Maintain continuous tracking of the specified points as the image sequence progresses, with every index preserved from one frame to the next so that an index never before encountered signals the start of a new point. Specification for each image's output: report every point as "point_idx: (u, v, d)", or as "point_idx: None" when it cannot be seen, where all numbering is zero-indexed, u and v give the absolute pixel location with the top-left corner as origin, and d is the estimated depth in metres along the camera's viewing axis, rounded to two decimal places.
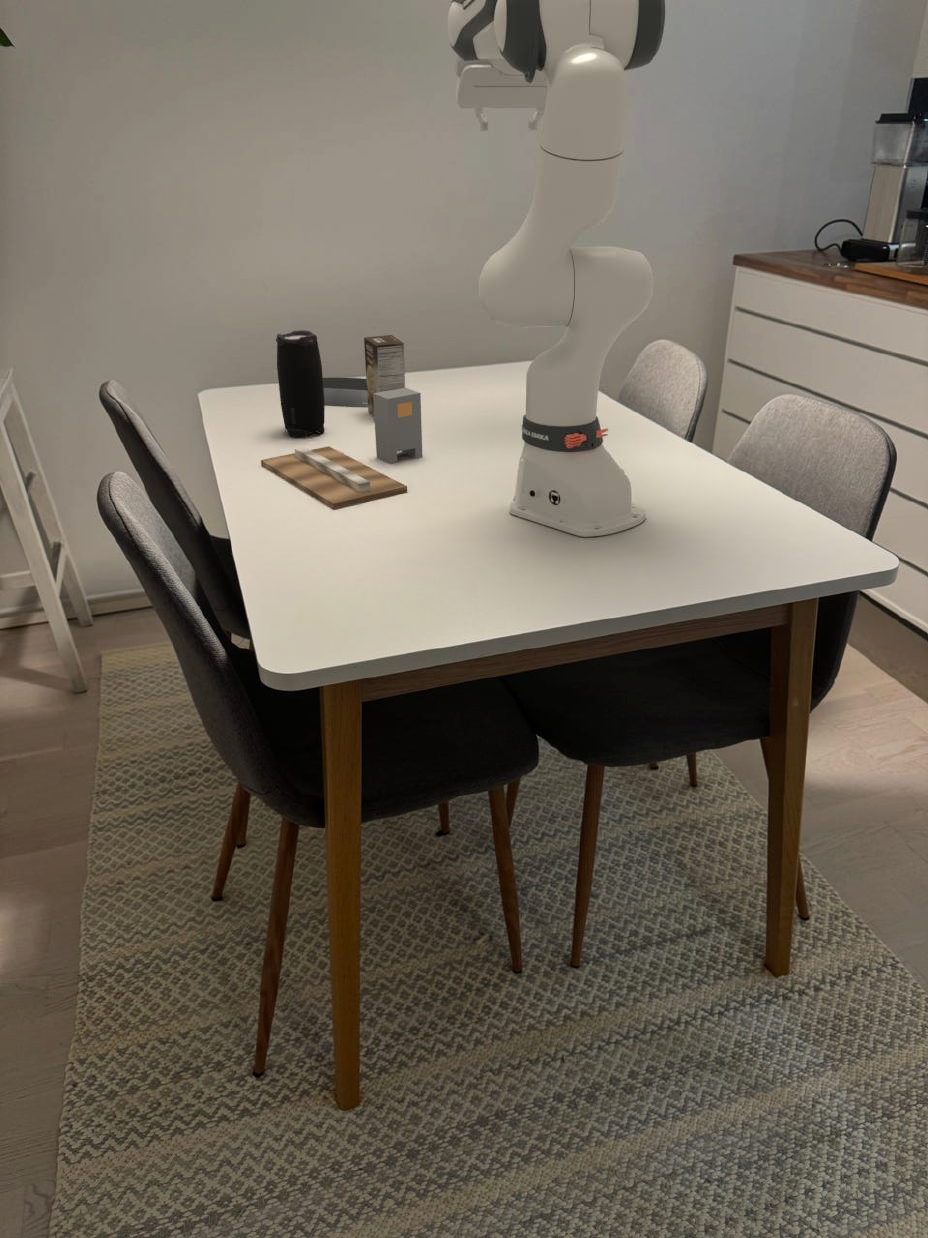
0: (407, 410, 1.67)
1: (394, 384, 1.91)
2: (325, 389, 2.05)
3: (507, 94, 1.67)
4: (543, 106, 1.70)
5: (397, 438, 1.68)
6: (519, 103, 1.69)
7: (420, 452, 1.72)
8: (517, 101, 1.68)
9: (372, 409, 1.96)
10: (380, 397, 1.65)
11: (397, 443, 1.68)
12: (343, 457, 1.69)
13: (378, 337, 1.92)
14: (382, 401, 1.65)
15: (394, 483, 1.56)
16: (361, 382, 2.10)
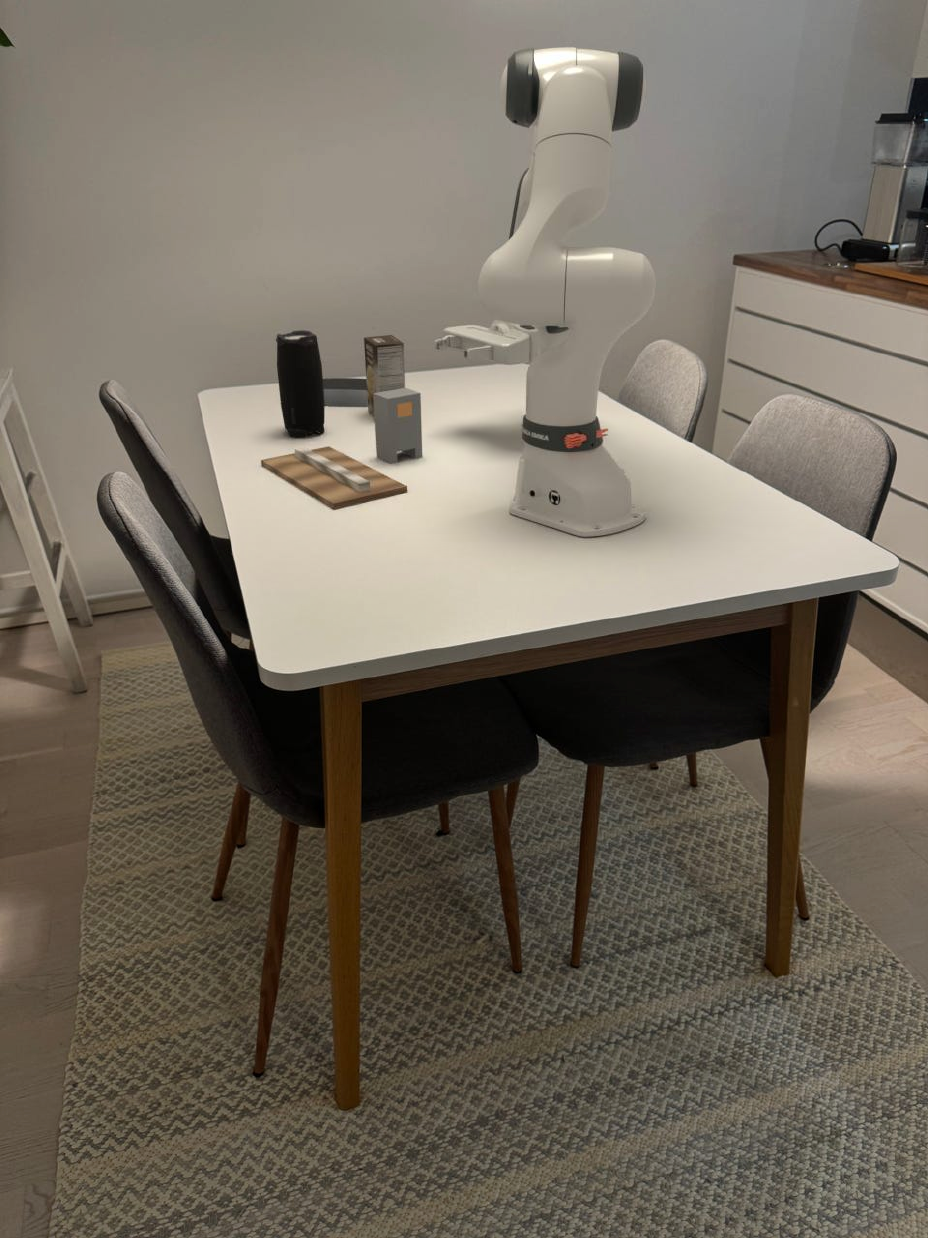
0: (407, 410, 1.67)
1: (394, 384, 1.91)
2: (328, 390, 2.04)
3: (479, 333, 1.74)
4: (492, 341, 1.68)
5: (397, 438, 1.68)
6: (480, 336, 1.71)
7: (420, 452, 1.72)
8: (480, 335, 1.72)
9: (372, 409, 1.96)
10: (380, 397, 1.65)
11: (397, 443, 1.68)
12: (343, 457, 1.69)
13: (378, 337, 1.92)
14: (382, 401, 1.65)
15: (394, 483, 1.56)
16: (361, 382, 2.10)
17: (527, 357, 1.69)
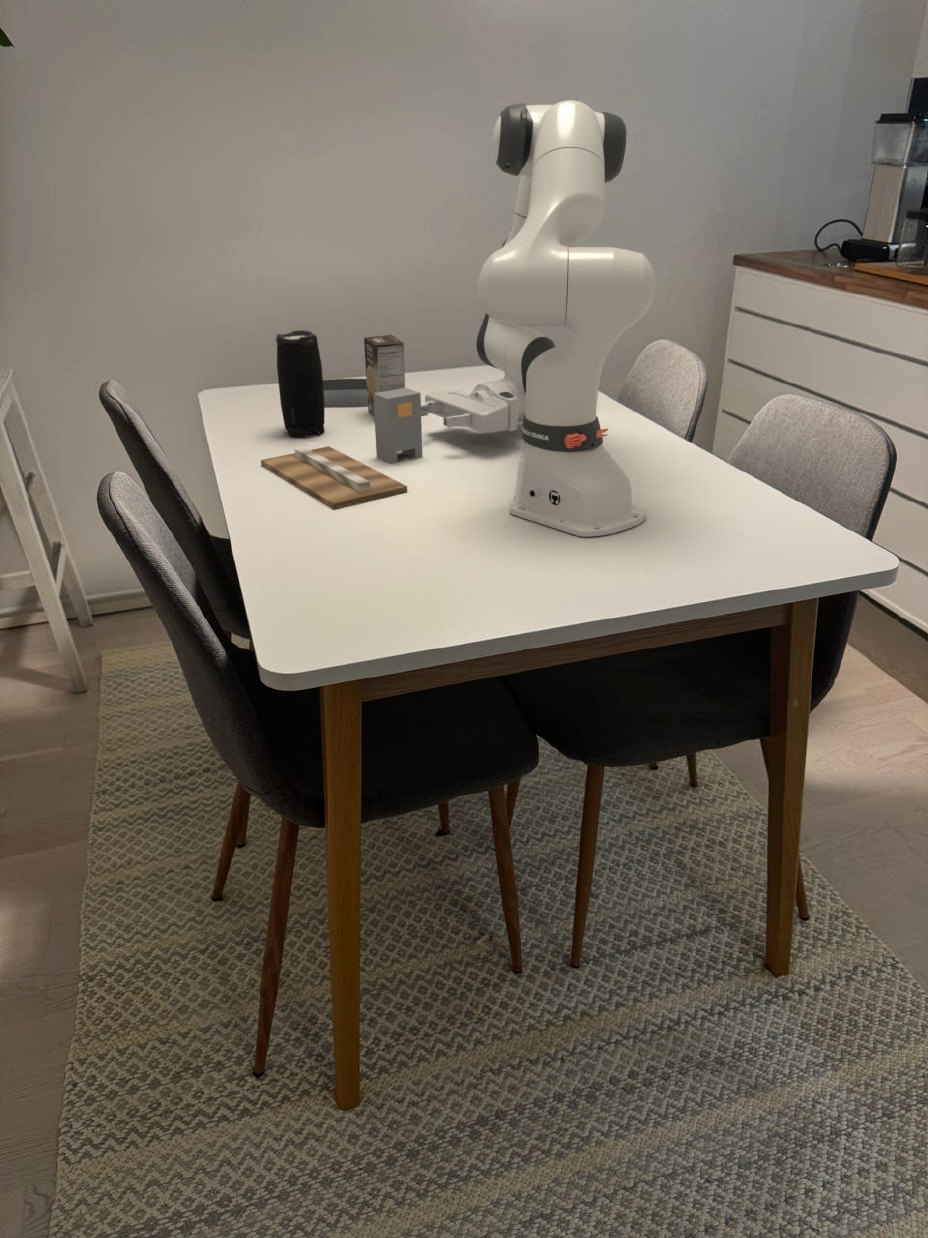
0: (407, 410, 1.67)
1: (394, 384, 1.91)
2: (332, 391, 2.03)
3: (460, 400, 1.77)
4: (471, 409, 1.70)
5: (397, 438, 1.68)
6: (460, 403, 1.74)
7: (420, 452, 1.72)
8: (460, 403, 1.75)
9: (372, 409, 1.96)
10: (380, 397, 1.65)
11: (397, 443, 1.68)
12: (343, 457, 1.69)
13: (378, 337, 1.92)
14: (382, 401, 1.65)
15: (394, 483, 1.56)
16: (360, 382, 2.10)
17: (506, 424, 1.72)
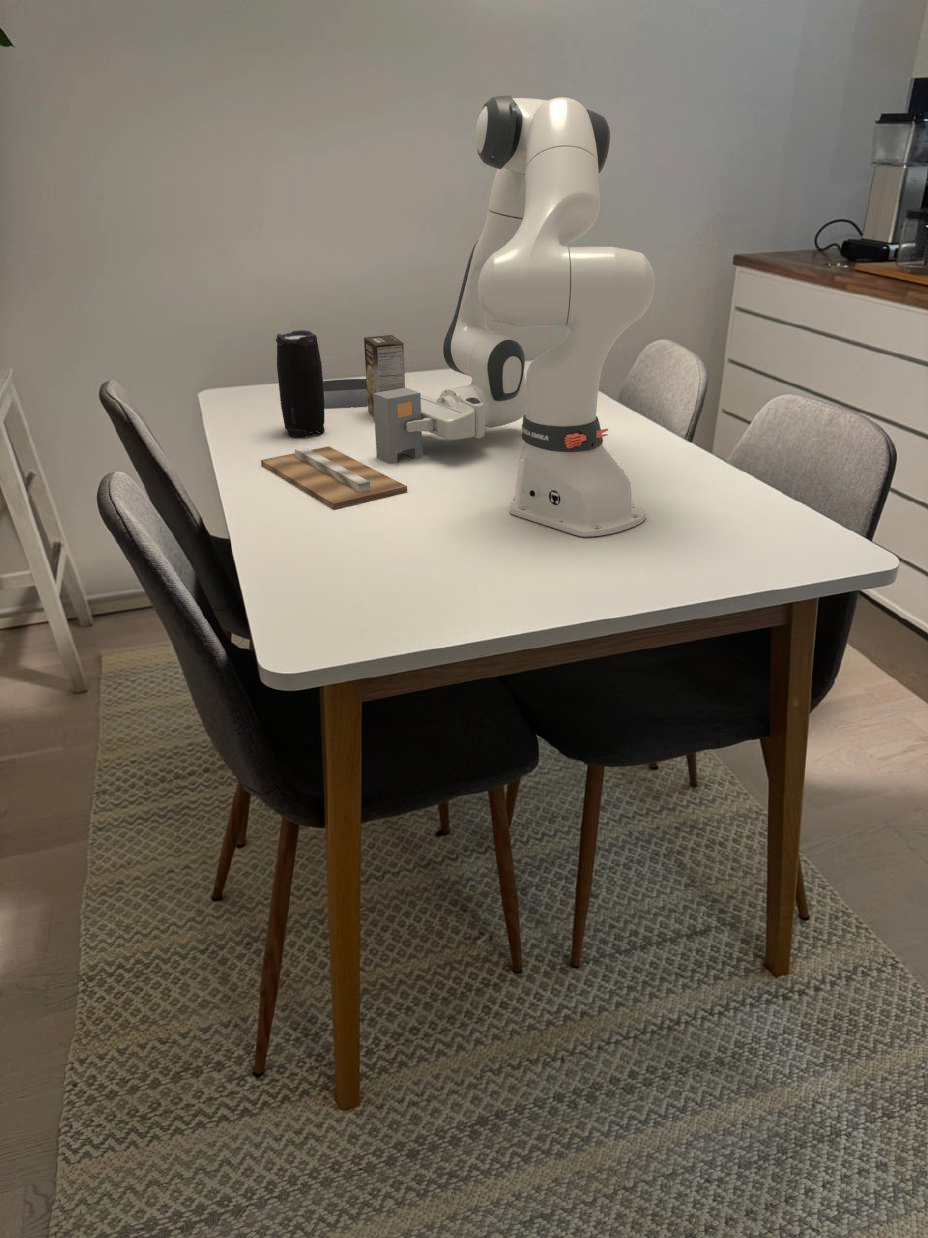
0: (407, 410, 1.67)
1: (394, 384, 1.91)
2: (336, 392, 2.03)
3: (426, 405, 1.73)
4: (437, 415, 1.67)
5: (397, 438, 1.68)
6: (426, 409, 1.70)
7: (420, 452, 1.72)
8: (426, 409, 1.71)
9: (372, 409, 1.96)
10: (380, 397, 1.65)
11: (397, 443, 1.68)
12: (343, 457, 1.69)
13: (378, 337, 1.92)
14: (382, 401, 1.65)
15: (394, 483, 1.56)
16: (360, 382, 2.10)
17: (472, 431, 1.68)
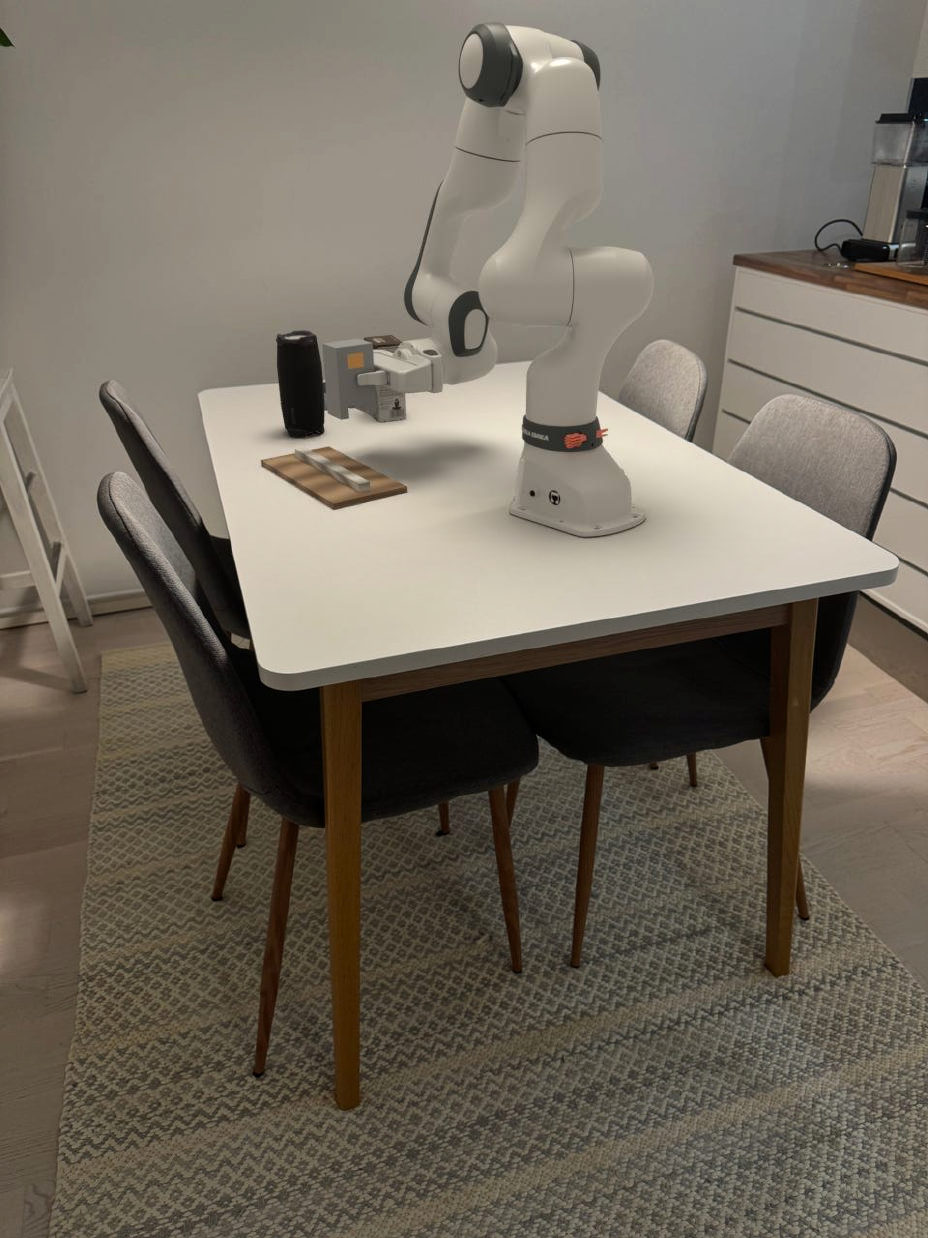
0: (358, 362, 1.55)
1: None
2: None
3: (381, 358, 1.61)
4: (390, 367, 1.55)
5: (348, 392, 1.56)
6: (379, 362, 1.59)
7: (374, 408, 1.60)
8: (380, 361, 1.59)
9: None
10: (329, 347, 1.54)
11: (347, 397, 1.56)
12: (343, 457, 1.69)
13: (378, 337, 1.92)
14: (331, 351, 1.54)
15: (394, 483, 1.56)
16: None
17: (428, 385, 1.57)
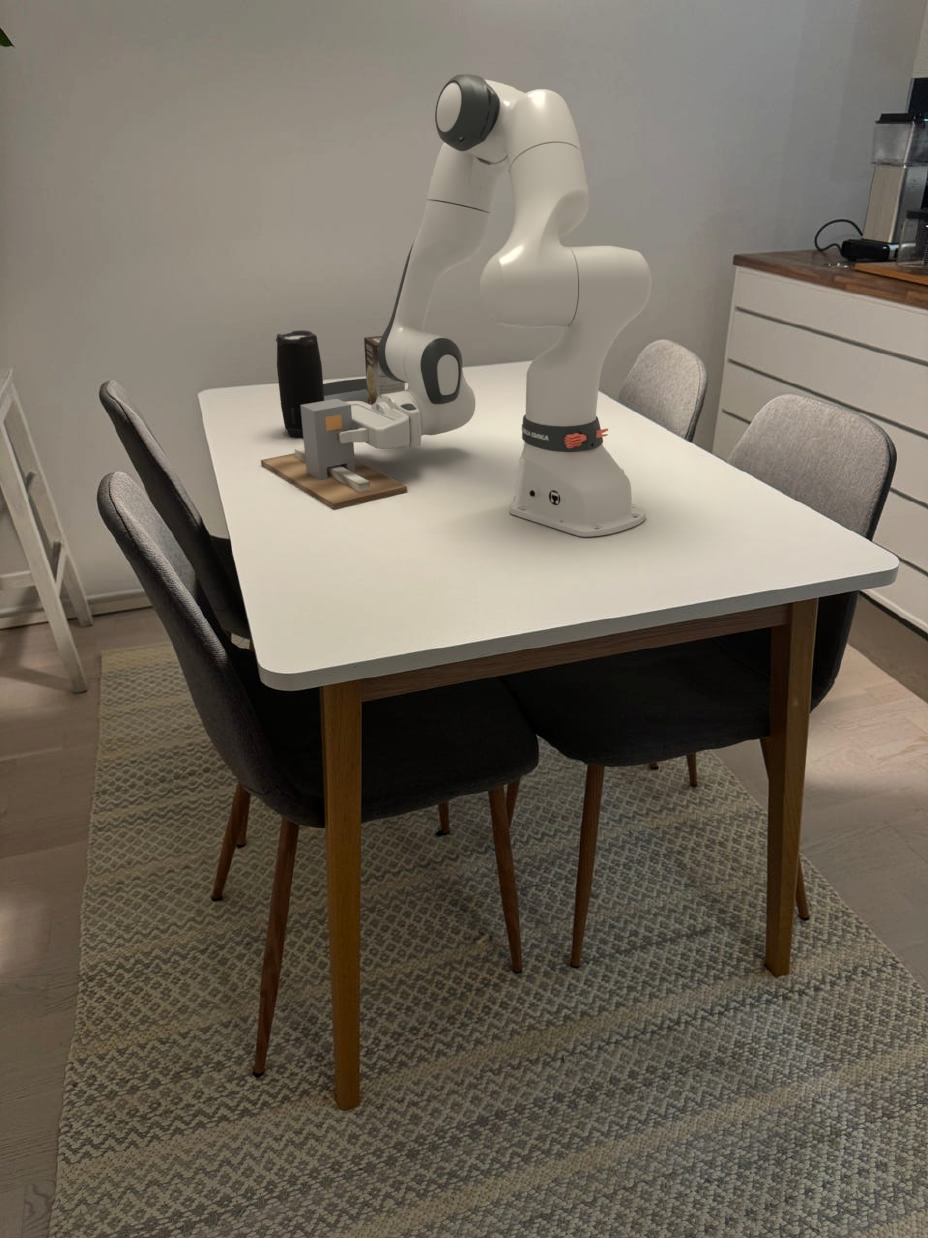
0: (337, 423, 1.56)
1: (394, 384, 1.91)
2: (350, 393, 2.02)
3: (359, 412, 1.61)
4: (368, 423, 1.55)
5: (326, 453, 1.57)
6: (357, 416, 1.59)
7: (353, 467, 1.61)
8: (358, 416, 1.59)
9: None
10: (307, 409, 1.54)
11: (326, 458, 1.57)
12: None
13: (378, 337, 1.92)
14: (309, 414, 1.54)
15: (394, 483, 1.56)
16: (359, 382, 2.10)
17: (406, 440, 1.57)
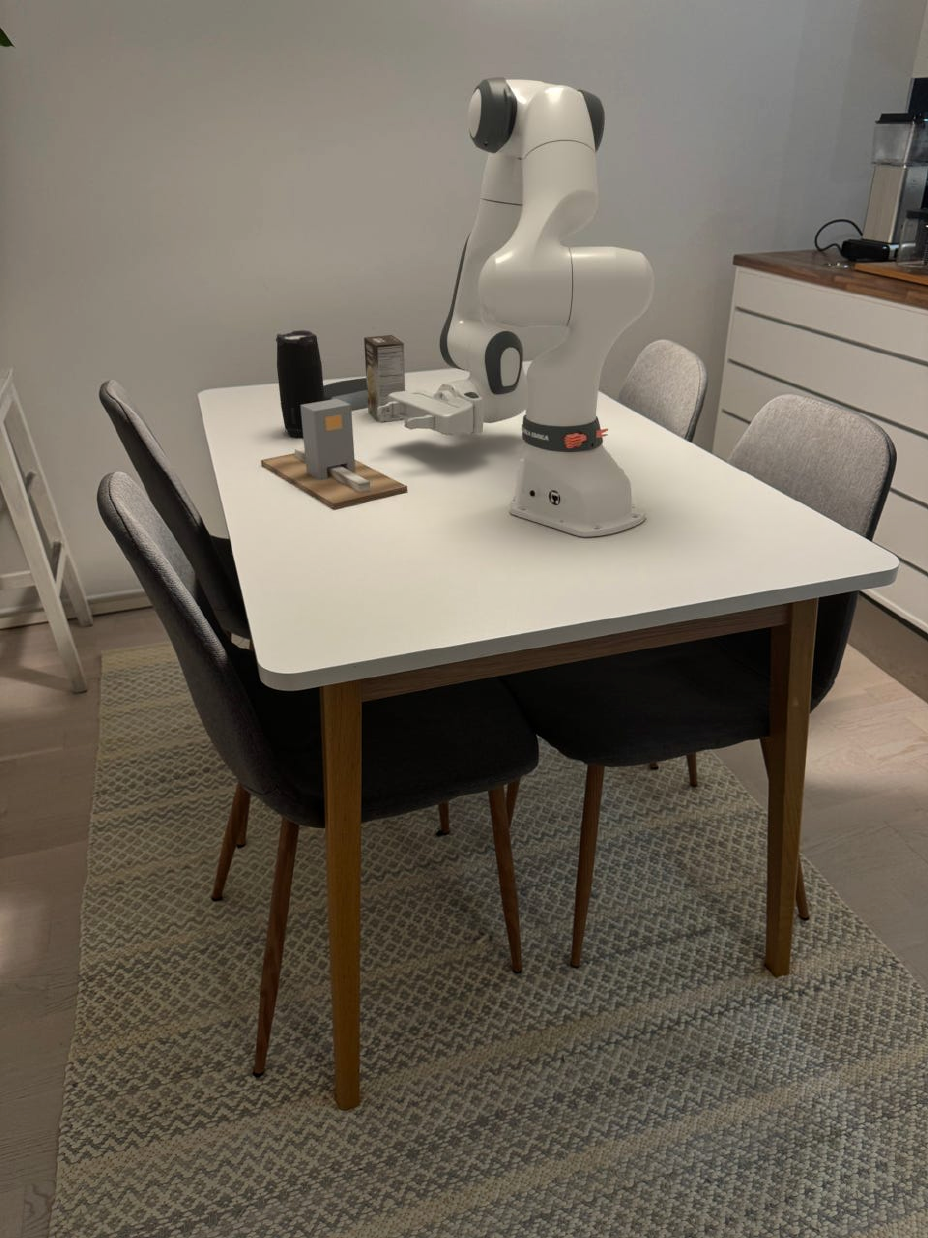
0: (337, 423, 1.56)
1: (394, 384, 1.91)
2: (357, 393, 2.02)
3: (423, 400, 1.68)
4: (434, 410, 1.62)
5: (326, 453, 1.57)
6: (423, 404, 1.66)
7: (353, 467, 1.61)
8: (423, 403, 1.66)
9: (372, 409, 1.96)
10: (307, 409, 1.54)
11: (326, 458, 1.57)
12: None
13: (378, 337, 1.92)
14: (309, 414, 1.54)
15: (394, 483, 1.56)
16: (359, 382, 2.10)
17: (470, 426, 1.64)
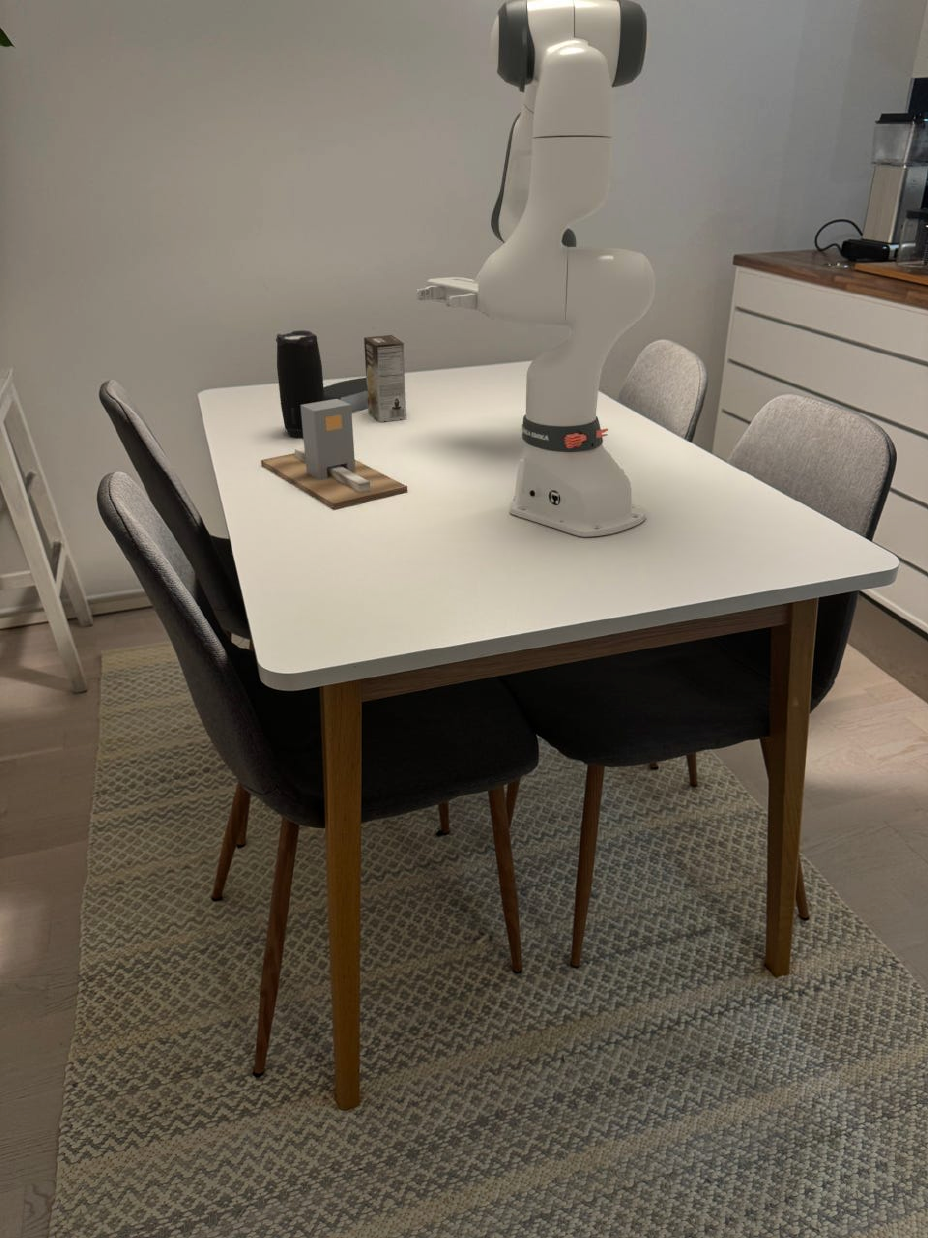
0: (337, 423, 1.56)
1: (394, 384, 1.91)
2: (363, 393, 2.02)
3: (463, 282, 1.65)
4: (476, 288, 1.59)
5: (326, 453, 1.57)
6: (464, 285, 1.63)
7: (353, 467, 1.61)
8: (464, 284, 1.63)
9: (372, 409, 1.96)
10: (307, 409, 1.54)
11: (326, 458, 1.57)
12: None
13: (378, 337, 1.92)
14: (309, 414, 1.54)
15: (394, 483, 1.56)
16: (359, 382, 2.10)
17: None
